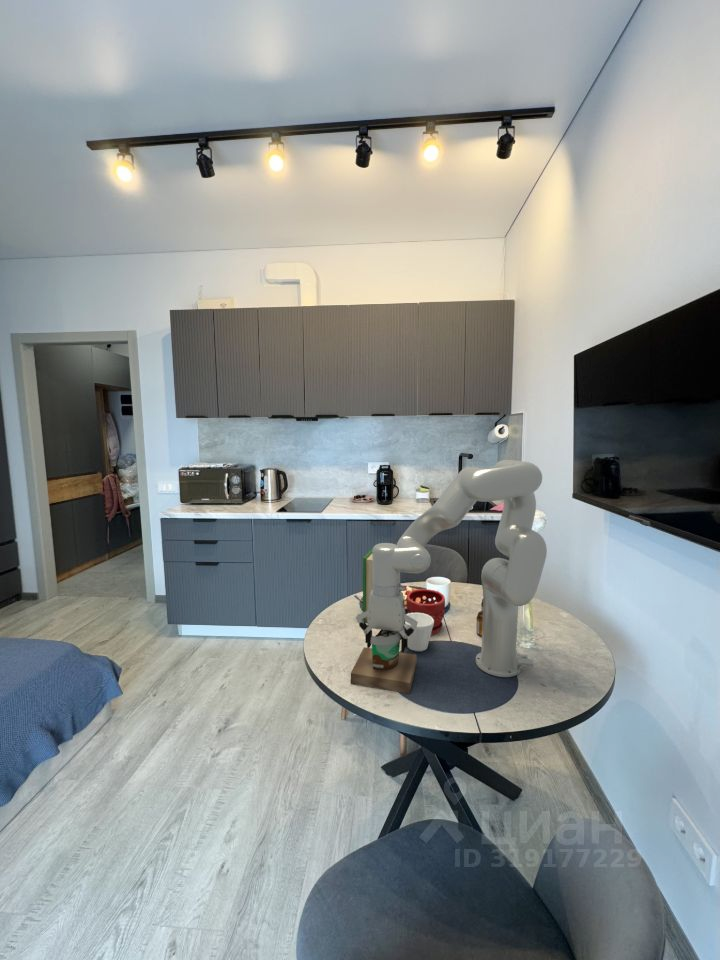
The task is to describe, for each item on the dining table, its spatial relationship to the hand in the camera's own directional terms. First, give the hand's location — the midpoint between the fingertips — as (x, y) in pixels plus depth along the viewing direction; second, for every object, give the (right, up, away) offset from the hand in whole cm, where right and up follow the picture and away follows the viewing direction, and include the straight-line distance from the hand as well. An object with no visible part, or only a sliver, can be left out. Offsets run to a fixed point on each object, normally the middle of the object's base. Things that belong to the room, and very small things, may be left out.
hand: (386, 647), depth 114 cm
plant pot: (+15, -5, +28) cm, 32 cm away
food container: (+1, -5, 0) cm, 5 cm away
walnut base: (0, -8, +1) cm, 8 cm away
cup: (+11, -6, +15) cm, 20 cm away
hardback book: (0, -4, +39) cm, 39 cm away
